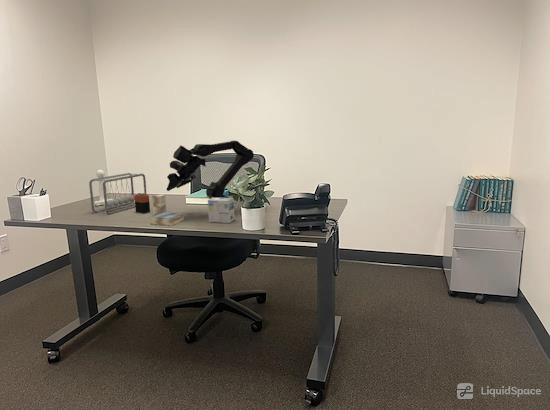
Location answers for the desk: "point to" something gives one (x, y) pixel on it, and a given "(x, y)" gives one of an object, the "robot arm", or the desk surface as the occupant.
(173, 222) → the foundation plinth
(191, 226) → the desk surface
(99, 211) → the newton's cradle
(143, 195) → the battery
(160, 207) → the birch snap block
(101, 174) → the joystick
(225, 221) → the light bulb box
